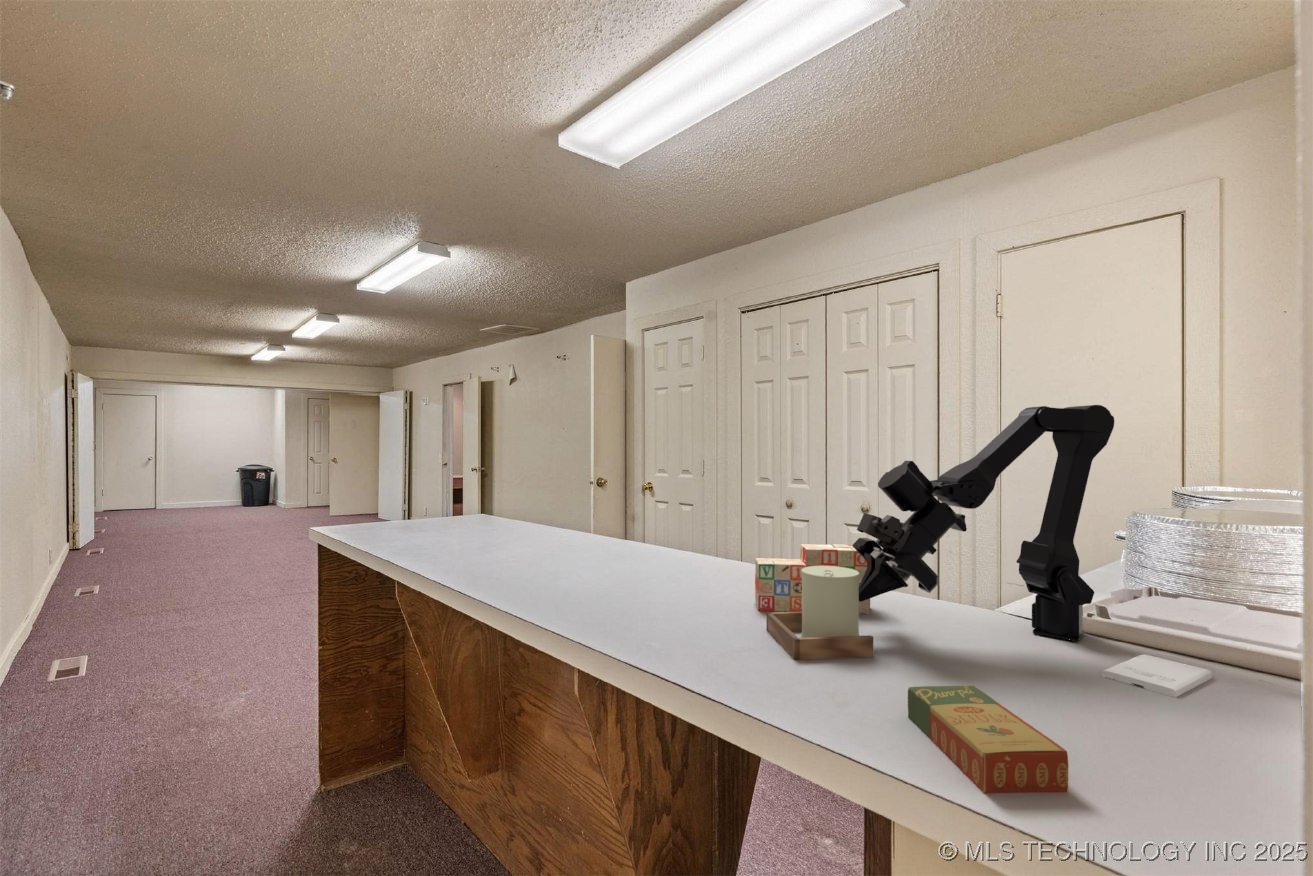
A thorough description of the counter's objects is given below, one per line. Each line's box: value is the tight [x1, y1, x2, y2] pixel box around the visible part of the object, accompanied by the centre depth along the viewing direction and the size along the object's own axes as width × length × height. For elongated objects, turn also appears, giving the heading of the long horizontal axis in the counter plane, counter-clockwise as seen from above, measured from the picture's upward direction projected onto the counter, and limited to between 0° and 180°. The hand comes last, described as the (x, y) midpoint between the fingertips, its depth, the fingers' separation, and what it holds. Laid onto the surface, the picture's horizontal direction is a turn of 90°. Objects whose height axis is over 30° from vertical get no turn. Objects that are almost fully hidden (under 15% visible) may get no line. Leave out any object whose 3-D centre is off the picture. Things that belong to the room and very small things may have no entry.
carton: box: [907, 684, 1069, 794], centre depth 64 cm, size 8×16×4 cm, turn 2°
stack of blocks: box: [754, 543, 871, 614], centre depth 119 cm, size 21×6×12 cm, turn 85°
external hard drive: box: [1102, 654, 1213, 698], centre depth 84 cm, size 2×8×12 cm
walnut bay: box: [766, 611, 874, 661], centre depth 98 cm, size 12×15×3 cm
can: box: [800, 566, 860, 638], centre depth 99 cm, size 9×9×12 cm
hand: (857, 599), depth 99 cm, fingers closed, pressing on can
